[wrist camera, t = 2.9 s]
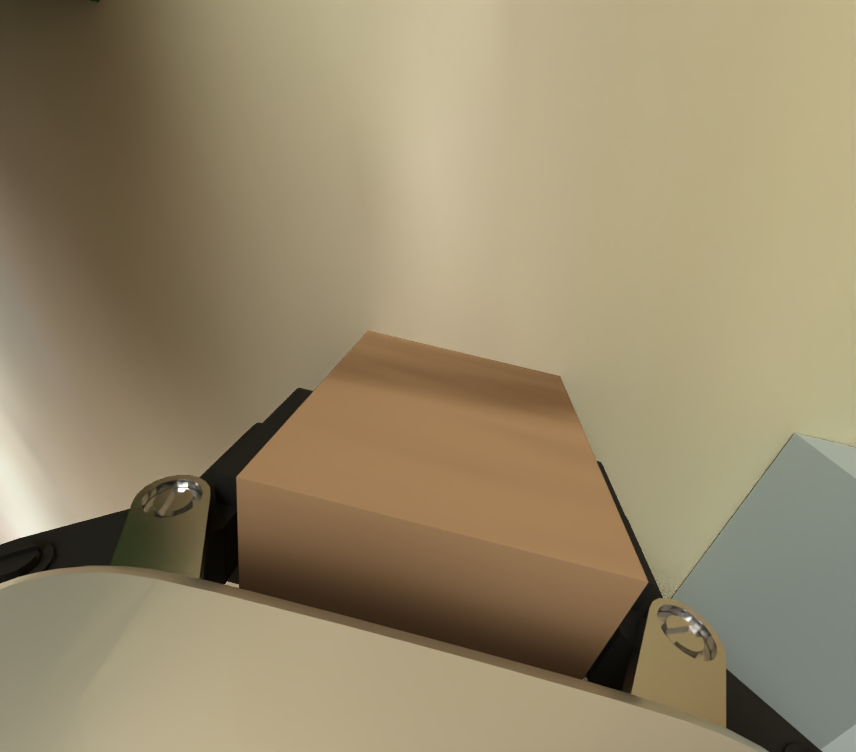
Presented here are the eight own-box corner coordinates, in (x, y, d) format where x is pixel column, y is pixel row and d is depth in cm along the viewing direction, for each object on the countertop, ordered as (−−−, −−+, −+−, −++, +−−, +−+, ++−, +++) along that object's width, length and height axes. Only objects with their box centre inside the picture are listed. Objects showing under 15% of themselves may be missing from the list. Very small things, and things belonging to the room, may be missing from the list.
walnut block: (368, 330, 12) (236, 476, 6) (559, 375, 12) (648, 582, 5) (348, 478, 14) (242, 694, 8) (504, 518, 14) (519, 771, 8)
